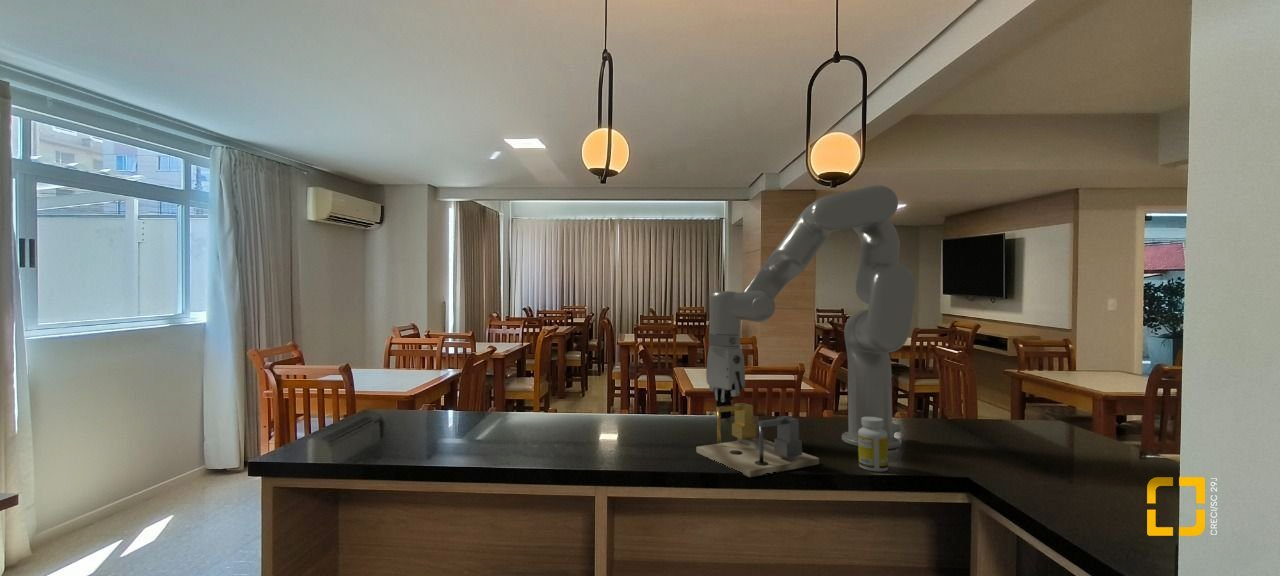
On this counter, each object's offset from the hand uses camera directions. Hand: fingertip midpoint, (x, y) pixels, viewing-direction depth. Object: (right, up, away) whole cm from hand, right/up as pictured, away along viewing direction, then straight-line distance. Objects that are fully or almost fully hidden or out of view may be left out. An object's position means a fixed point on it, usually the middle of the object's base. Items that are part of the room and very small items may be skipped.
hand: (723, 417), depth 118 cm
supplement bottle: (+26, -5, -21) cm, 34 cm away
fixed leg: (+7, -3, -20) cm, 22 cm away
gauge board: (+4, -5, -15) cm, 16 cm away
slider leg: (+1, -3, -8) cm, 8 cm away
